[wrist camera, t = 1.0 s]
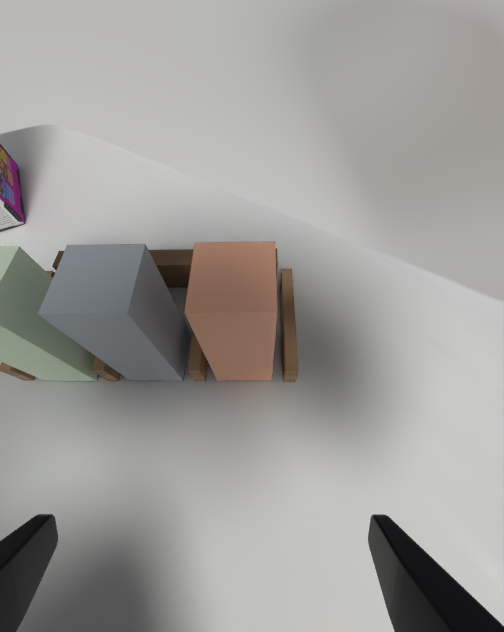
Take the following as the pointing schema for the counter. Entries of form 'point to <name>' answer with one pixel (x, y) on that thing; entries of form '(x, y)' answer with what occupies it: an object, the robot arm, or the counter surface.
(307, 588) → the counter surface
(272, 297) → the pink rectangular block
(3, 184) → the candy bar box
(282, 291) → the wooden slotted rack
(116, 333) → the grey tall block
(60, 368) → the sage key
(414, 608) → the robot arm
